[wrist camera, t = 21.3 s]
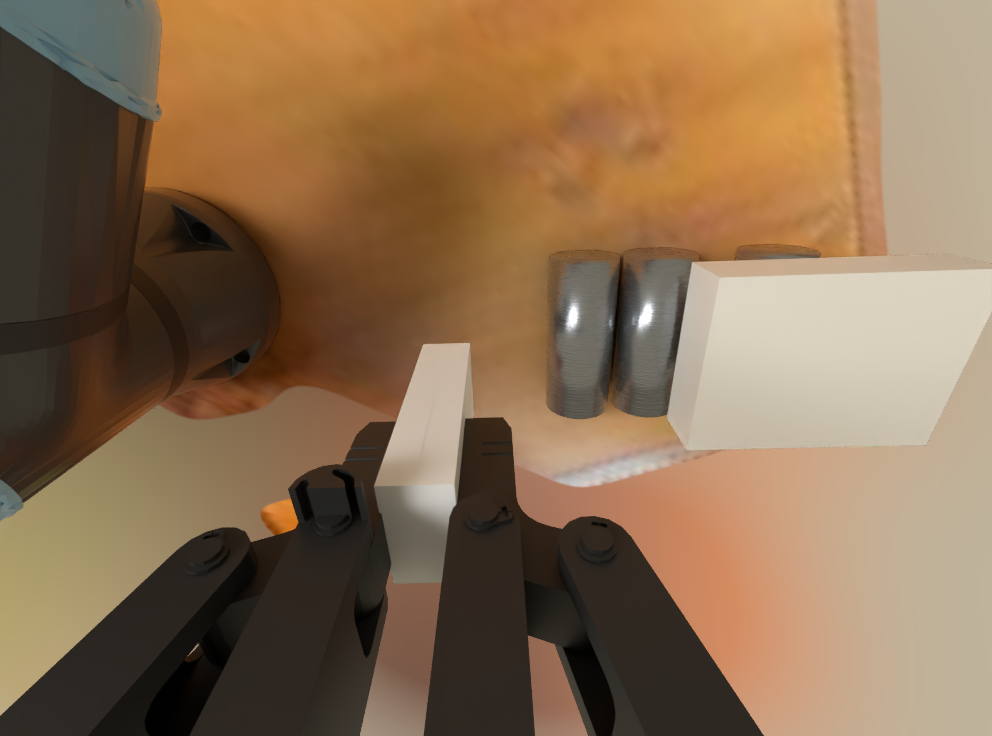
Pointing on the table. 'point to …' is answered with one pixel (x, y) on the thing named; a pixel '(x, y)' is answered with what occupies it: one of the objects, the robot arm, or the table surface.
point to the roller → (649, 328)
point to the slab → (824, 349)
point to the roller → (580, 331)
